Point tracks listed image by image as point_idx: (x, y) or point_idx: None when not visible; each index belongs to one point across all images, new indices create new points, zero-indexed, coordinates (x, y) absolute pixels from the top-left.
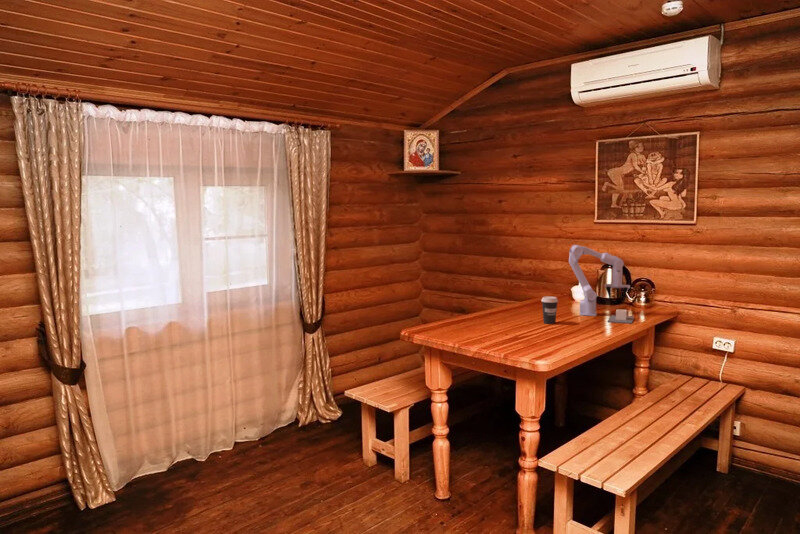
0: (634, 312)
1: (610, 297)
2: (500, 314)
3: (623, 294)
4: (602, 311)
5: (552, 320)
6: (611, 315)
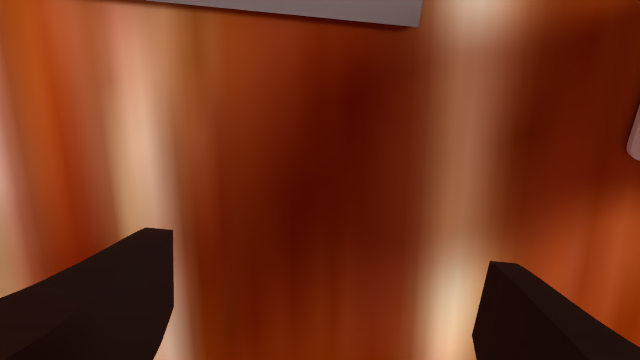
0: None
1: (510, 287)
2: None
3: (77, 297)
4: None
5: None
6: None
